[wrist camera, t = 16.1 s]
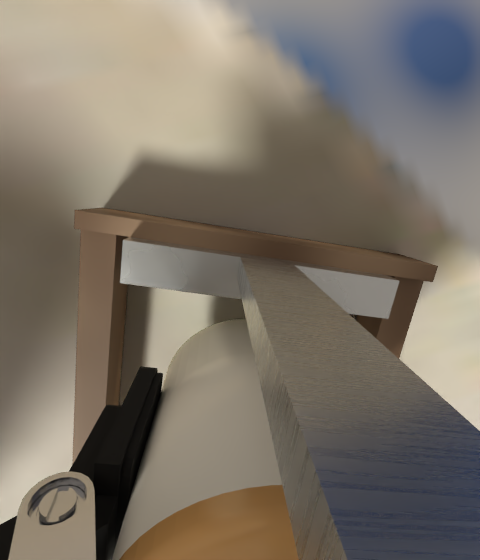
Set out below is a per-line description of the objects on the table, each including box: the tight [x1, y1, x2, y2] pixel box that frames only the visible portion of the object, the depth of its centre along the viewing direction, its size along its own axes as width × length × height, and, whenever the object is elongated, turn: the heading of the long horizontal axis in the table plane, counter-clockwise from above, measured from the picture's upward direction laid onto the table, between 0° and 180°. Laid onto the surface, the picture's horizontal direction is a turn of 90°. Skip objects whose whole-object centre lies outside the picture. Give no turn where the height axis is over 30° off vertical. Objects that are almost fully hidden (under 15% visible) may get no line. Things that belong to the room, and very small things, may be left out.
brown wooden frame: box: [72, 208, 438, 465], centre depth 14 cm, size 13×17×2 cm
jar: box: [112, 319, 299, 560], centre depth 8 cm, size 6×6×8 cm
